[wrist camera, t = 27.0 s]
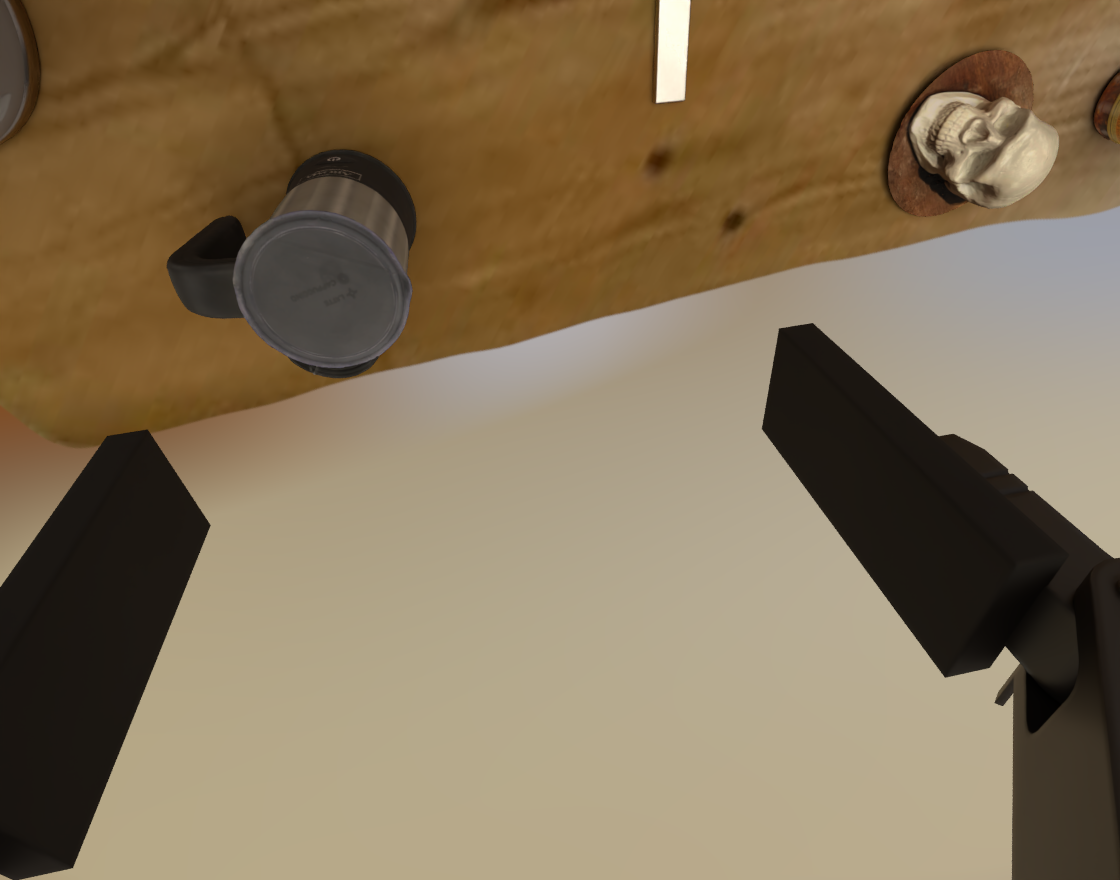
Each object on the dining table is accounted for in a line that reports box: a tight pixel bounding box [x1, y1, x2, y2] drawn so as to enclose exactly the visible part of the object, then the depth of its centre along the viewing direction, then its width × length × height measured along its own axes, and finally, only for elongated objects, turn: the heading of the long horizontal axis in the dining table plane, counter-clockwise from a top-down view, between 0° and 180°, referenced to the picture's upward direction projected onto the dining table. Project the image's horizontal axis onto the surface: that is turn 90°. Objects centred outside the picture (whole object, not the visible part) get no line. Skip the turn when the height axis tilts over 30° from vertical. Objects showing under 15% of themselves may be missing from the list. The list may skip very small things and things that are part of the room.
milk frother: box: [167, 150, 416, 378], centre depth 40 cm, size 14×16×15 cm
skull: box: [887, 50, 1059, 217], centre depth 46 cm, size 12×10×10 cm
